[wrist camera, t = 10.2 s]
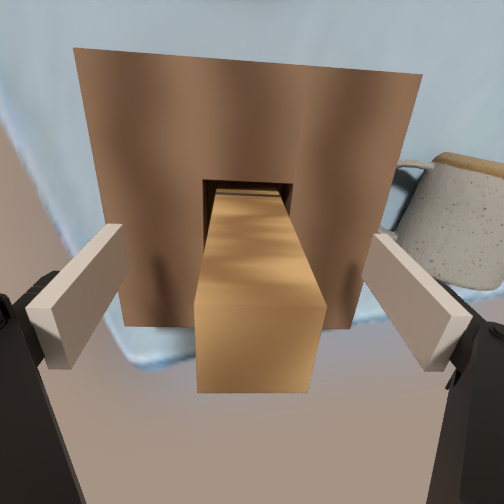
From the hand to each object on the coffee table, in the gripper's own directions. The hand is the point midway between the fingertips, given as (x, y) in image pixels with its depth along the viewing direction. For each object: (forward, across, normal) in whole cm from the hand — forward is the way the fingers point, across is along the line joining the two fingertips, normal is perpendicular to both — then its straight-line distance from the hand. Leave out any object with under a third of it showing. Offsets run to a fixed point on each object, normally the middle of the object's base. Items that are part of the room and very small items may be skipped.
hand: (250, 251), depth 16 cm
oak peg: (+8, 0, 0) cm, 8 cm away
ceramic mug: (+9, +14, 0) cm, 17 cm away
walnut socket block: (+9, 0, 0) cm, 9 cm away
